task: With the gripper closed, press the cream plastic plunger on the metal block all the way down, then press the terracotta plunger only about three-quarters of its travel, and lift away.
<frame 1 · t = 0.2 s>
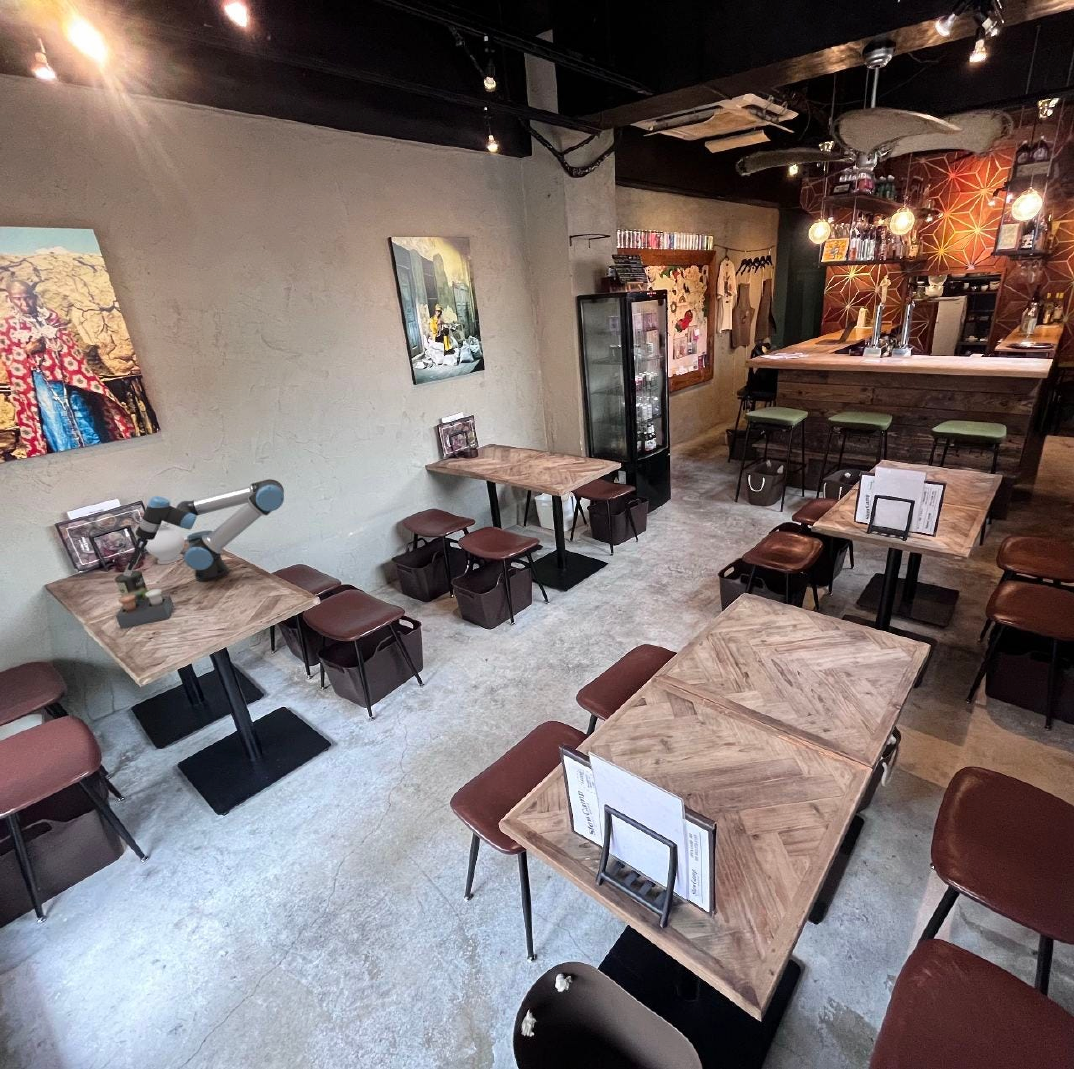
hand: (129, 569, 263), 16 cm above the table, tool tilted 35°, fingers open, 13 cm apart
plunger block: (148, 617, 252), on the table
cream plunger: (155, 598, 250), point 8 cm above the table, slide at 0.0 cm
coffee can: (138, 603, 266), on the table
decorative vase: (170, 559, 314), on the table
terracotta plunger: (129, 604, 247), point 8 cm above the table, slide at 0.0 cm
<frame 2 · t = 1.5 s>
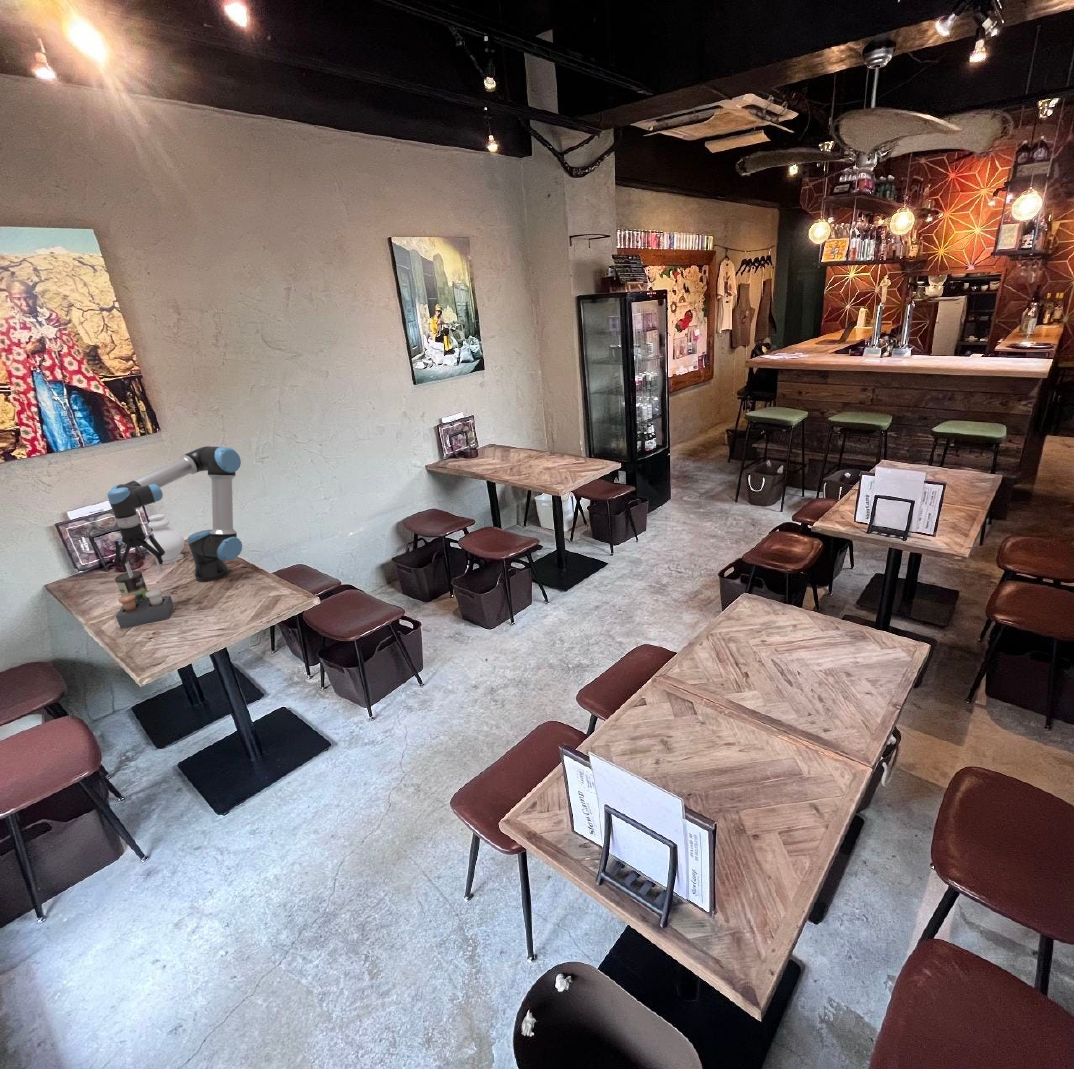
hand: (146, 573, 246), 20 cm above the table, tool pointing down, fingers open, 10 cm apart
nothing on the table moved.
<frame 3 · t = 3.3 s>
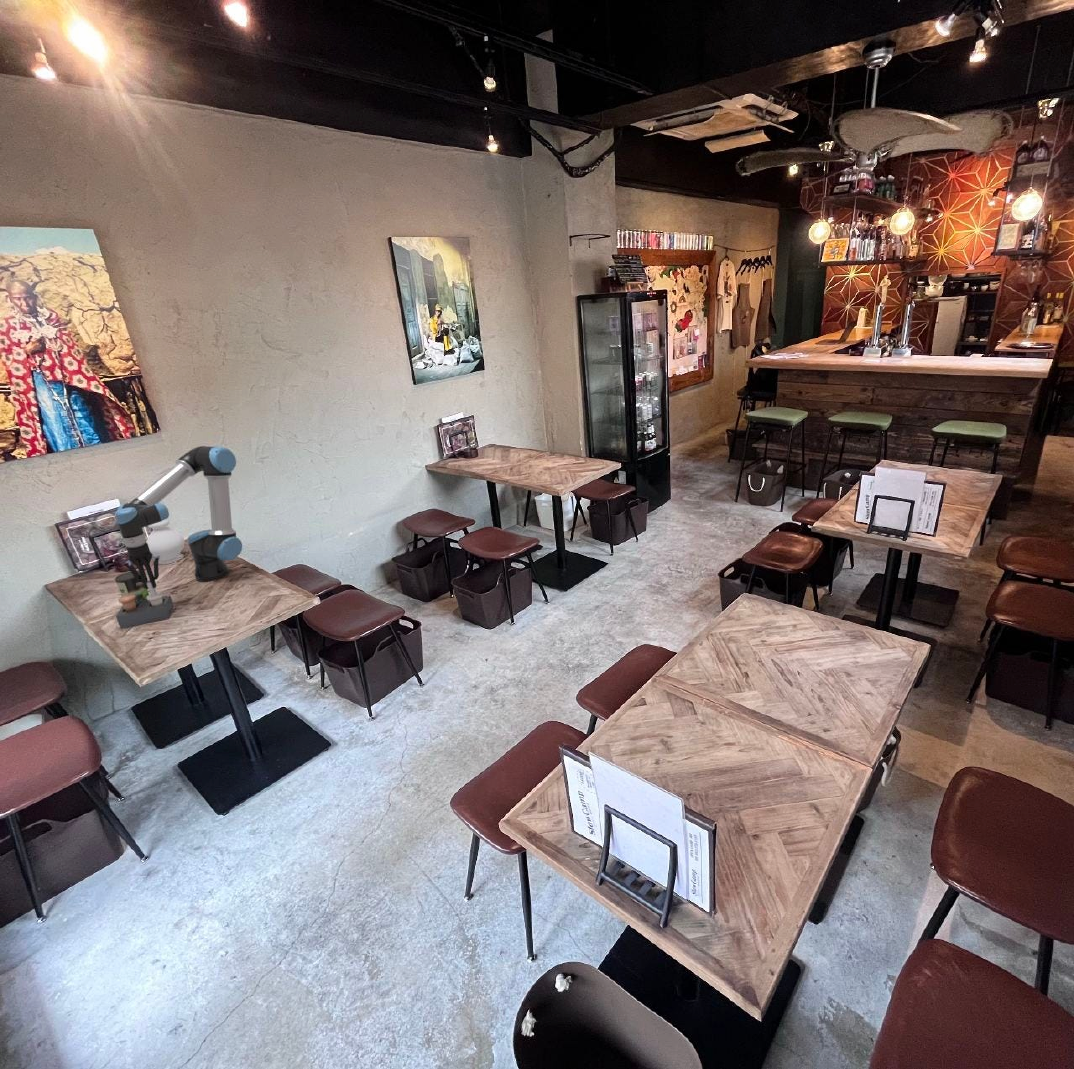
hand: (153, 594, 249), 10 cm above the table, tool pointing down, fingers closed
cream plunger: (156, 602, 251), point 6 cm above the table, slide at 1.6 cm, touching gripper
everything else where it was.
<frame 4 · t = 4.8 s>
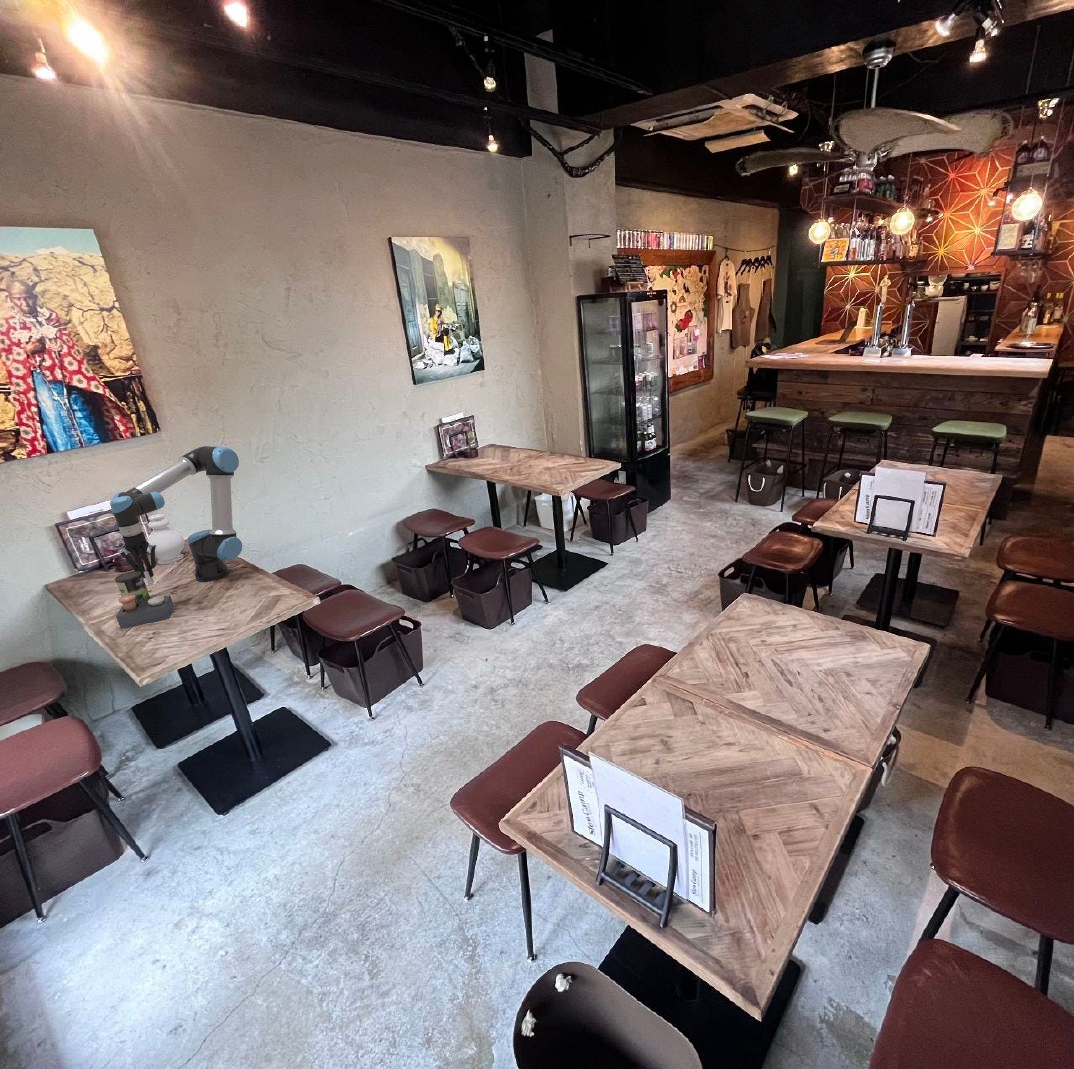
hand: (151, 583, 248), 15 cm above the table, tool pointing down, fingers closed
cream plunger: (158, 606, 251), point 4 cm above the table, slide at 3.5 cm, touching plunger block
everything else where it was.
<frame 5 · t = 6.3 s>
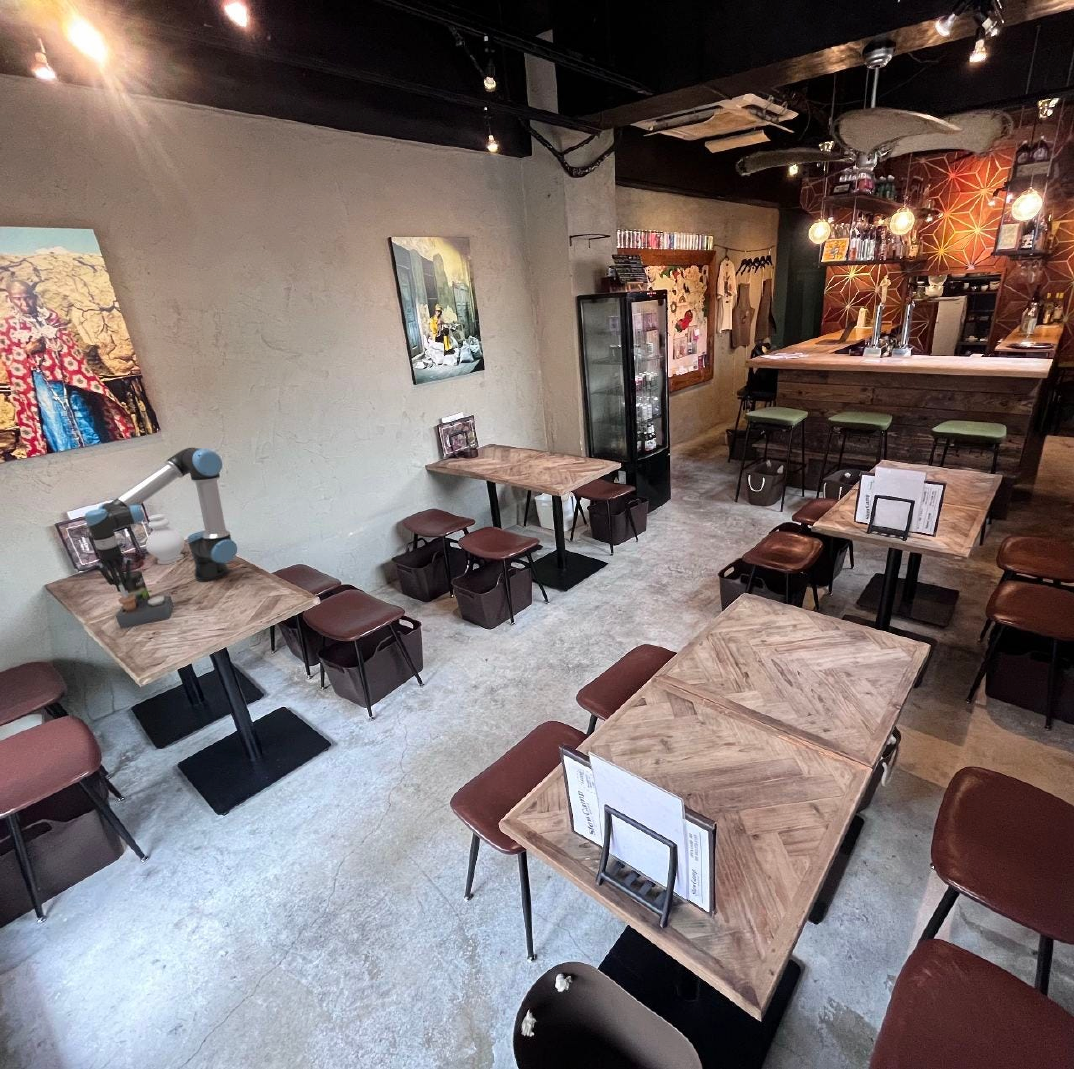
hand: (126, 597, 246), 11 cm above the table, tool pointing down, fingers closed
terracotta plunger: (129, 604, 247), point 8 cm above the table, slide at 0.3 cm, touching gripper
everything else where it was.
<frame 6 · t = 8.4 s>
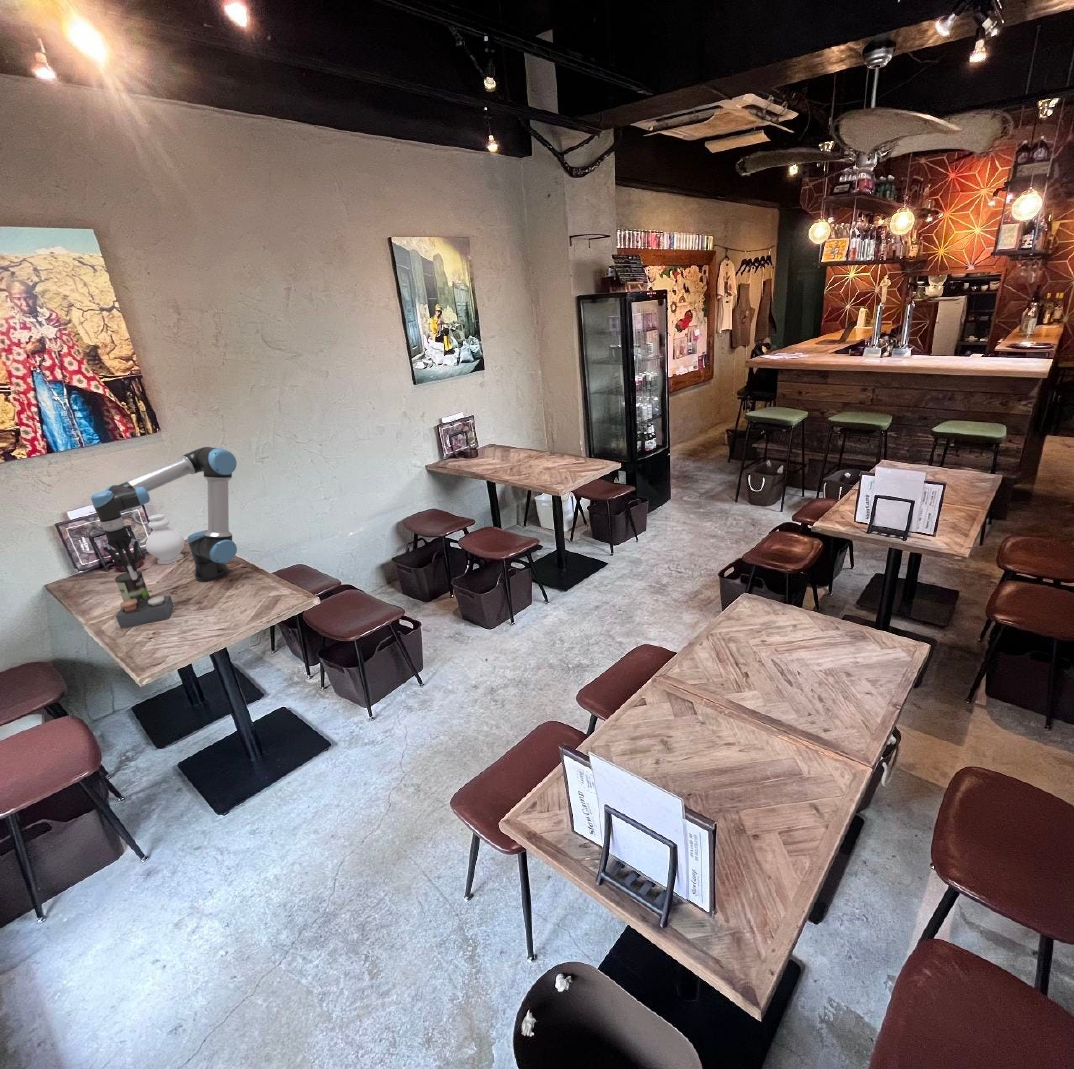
hand: (135, 578, 248), 17 cm above the table, tool pointing down, fingers closed
terracotta plunger: (130, 608, 248), point 6 cm above the table, slide at 2.3 cm
everything else where it was.
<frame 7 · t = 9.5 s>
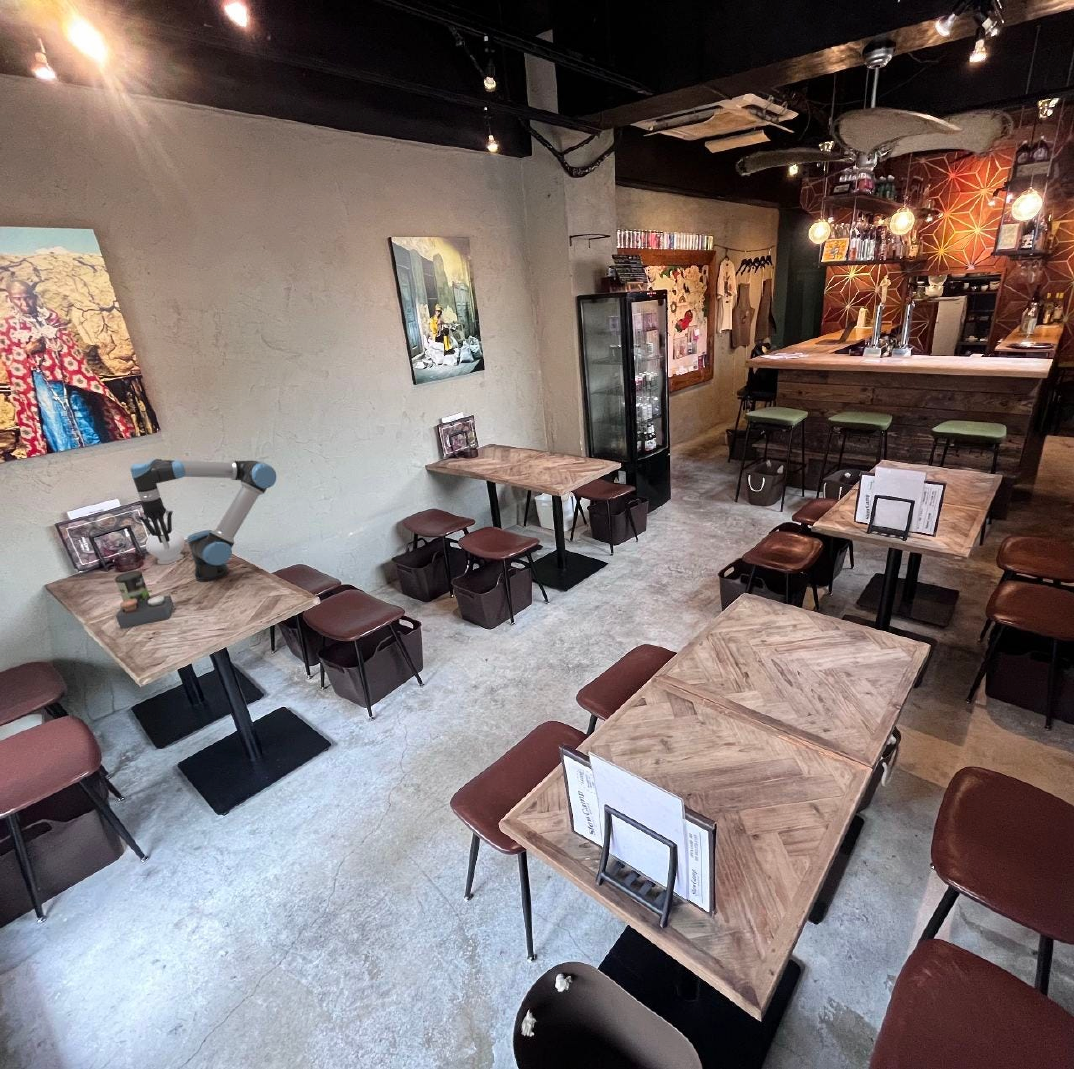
hand: (167, 548, 260), 24 cm above the table, tool pointing down, fingers closed
nothing on the table moved.
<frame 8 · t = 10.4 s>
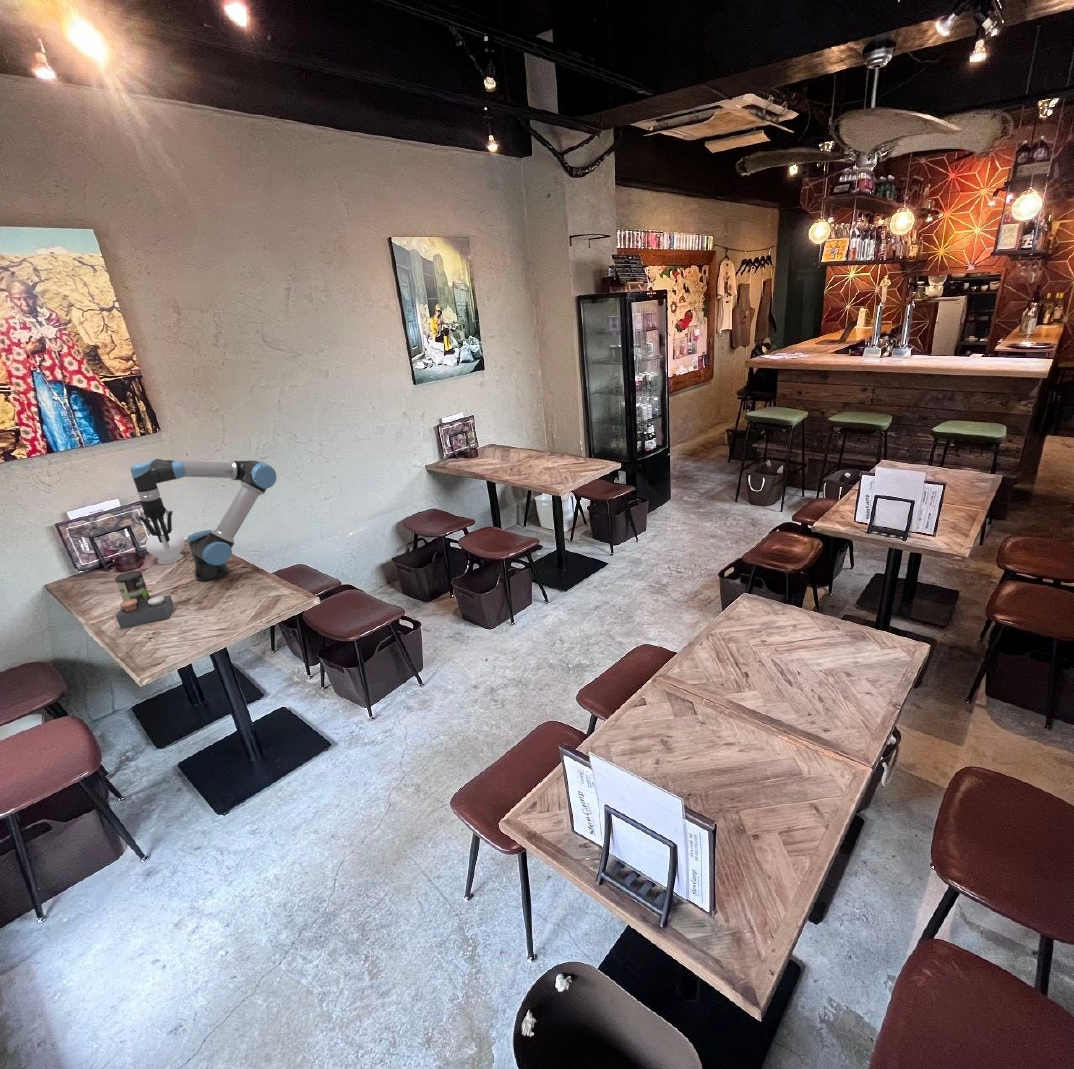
hand: (167, 548, 260), 24 cm above the table, tool pointing down, fingers closed
nothing on the table moved.
at the end: cream plunger slide at 3.5 cm; terracotta plunger slide at 2.3 cm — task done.
